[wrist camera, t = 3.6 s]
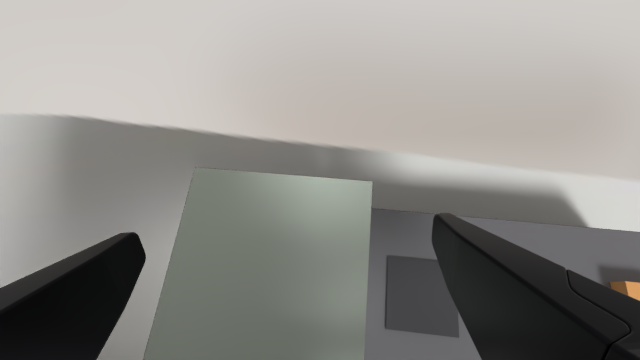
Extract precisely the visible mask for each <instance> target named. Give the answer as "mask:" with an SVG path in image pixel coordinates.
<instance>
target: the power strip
mask: <svg viewBox="0 0 640 360" xmlns="http://www.w3.org/2000/svg"><path fill="white" fill-rule="evenodd" d="M434 216H435V214H430V213H419V212H407V211H396V210H385V209H373V208H371V223H370V244H369V265H368V286H367V306H366V327H365V348H364V360H481V357H480V355H479V353H478V351H477V349H476V347H475V345H474V343H473V341H472V339H471V337H470V335H469V333H468V330H467V328H466V326H465V324H464V322H463V320H462V318H461V316H460V314H459V312H458V310H457V308H456V306H455V304H454V301H453V299H452V297H451V295H450V293H449V291H448V288H447V286H446V283H445V280H444V277H443V274H442V271H441V269H440V266H439V263H438V260H437V257H436V254H435V251H434V248H433V245H432V227H433V218H434ZM456 217H458V218H461V219H463V220H465V221H467V222H469V223H471V224H473V225H476V226H478V227H480V228H482V229H484V230H486V231H488V232H490V233H493V234H495V235H497V236H499V237H501V238H503V239H505V240H508V241H510V242H512V243H514V244H516V245H518V246H520V247H523V248H525V249H527V250H529V251H531V252H533V253H535V254H537V255H540V256H542V257H544V258H546V259H548V260H550V261H552V262H555V263H557V264H559V265H561V266H563V267H565V268H566V270H567V269H570V270H572V271H574V272H576V273H578V274H580V275H582V276H585V277H587V278H589V279H591V280H593V281H596V282H598V283H600V284H602V285H604V286H607V287H609V288H611V289H613V290H616V291H618V292H620V293H623V294H625V295H628V296H630V297H632V298H635V299H637V300H639V301H640V232H633V231H622V230H610V229H599V228H588V227H577V226H565V225H554V224H543V223H531V222H520V221H509V220H498V219H486V218H475V217H464V216H456Z"/></svg>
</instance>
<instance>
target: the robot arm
mask: <svg viewBox="0 0 640 360" xmlns="http://www.w3.org/2000/svg"><path fill="white" fill-rule="evenodd" d="M432 245H433V248H434V251H435V254H436V257H437V260H438V263H439V266H440V269H441V271H442V274H443V277H444V280H445V283H446V286H447V288H448V291H449V293H450V295H451V297H452V299H453V301H454V304H455V306H456V308H457V310H458V312H459V314H460V316H461V318H462V320H463V322H464V324H465V326H466V328H467V330H468V333H469V335H470V337H471V339H472V341H473V343H474V345H475V347H476V349H477V351H478V353H479V355H480V357H481V360H640V301H639V300H637V299H635V298H632V297H630V296H628V295H625V294H623V293H620V292H618V291H616V290H613V289H611V288H609V287H607V286H604V285H602V284H600V283H598V282H596V281H593V280H591V279H589V278H587V277H585V276H582V275H580V274H578V273H576V272H574V271H572V270H570V269H567V270H566V268H565V267H563V266H561V265H559V264H557V263H555V262H552V261H550V260H548V259H546V258H544V257H542V256H540V255H537V254H535V253H533V252H531V251H529V250H527V249H525V248H523V247H520V246H518V245H516V244H514V243H512V242H510V241H508V240H505V239H503V238H501V237H499V236H497V235H495V234H493V233H490V232H488V231H486V230H484V229H482V228H480V227H478V226H476V225H473V224H471V223H469V222H467V221H465V220H463V219H461V218H458V217H456V216H454V215H452V214H450V213H440V214H435V216H434V218H433V227H432ZM145 259H146V255H145V252H144V249H143V246H142V244H141V241H140V238H139V236H138V235H137V234H136V233H134V232H128V233H120V234H118V235H116V236H113V237H111V238H109V239H107V240H105V241H102V242H100V243H98V244H96V245H94V246H92V247H89V248H87V249H85V250H83V251H81V252H78V253H76V254H74V255H72V256H70V257H67V258H65V259H63V260H61V261H59V262H57V263H54V264H52V265H50V266H48V267H46V268H43V269H41V270H39V271H37V272H35V273H33V274H30V275H28V276H26V277H24V278H22V279H19V280H17V281H15V282H13V283H11V284H8V285H6V286H4V287H2V288H0V360H96V359H97V358H98V356H99V354H100V352H101V350H102V349H103V347H104V345H105V343H106V341H107V340H108V338H109V336H110V334H111V332H112V331H113V329H114V327H115V325H116V323H117V322H118V320H119V318H120V316H121V314H122V312H123V311H124V309H125V307H126V304H127V302H128V300H129V298H130V296H131V293H132V291H133V289H134V286H135V284H136V282H137V279H138V277H139V275H140V273H141V270H142V268H143V266H144V263H145Z"/></svg>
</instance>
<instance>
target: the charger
mask: <svg viewBox="0 0 640 360" xmlns="http://www.w3.org/2000/svg"><path fill="white" fill-rule="evenodd" d="M371 202H372V181H360V180H348V179H335V178H323V177H311V176H299V175H286V174H274V173H262V172H250V171H237V170H225V169H213V168H201V167H195V169H194V173H193V177H192V180H191V184H190V188H189V191H188V195H187V199H186V203H185V206H184V210H183V214H182V217H181V221H180V225H179V228H178V232H177V236H176V240H175V243H174V247H173V251H172V254H171V258H170V262H169V265H168V269H167V273H166V277H165V280H164V284H163V288H162V291H161V295H160V299H159V302H158V306H157V310H156V313H155V317H154V321H153V325H152V328H151V332H150V336H149V339H148V343H147V347H146V350H145V354H144V358H143V360H364V348H365V327H366V306H367V286H368V265H369V244H370V223H371Z"/></svg>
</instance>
